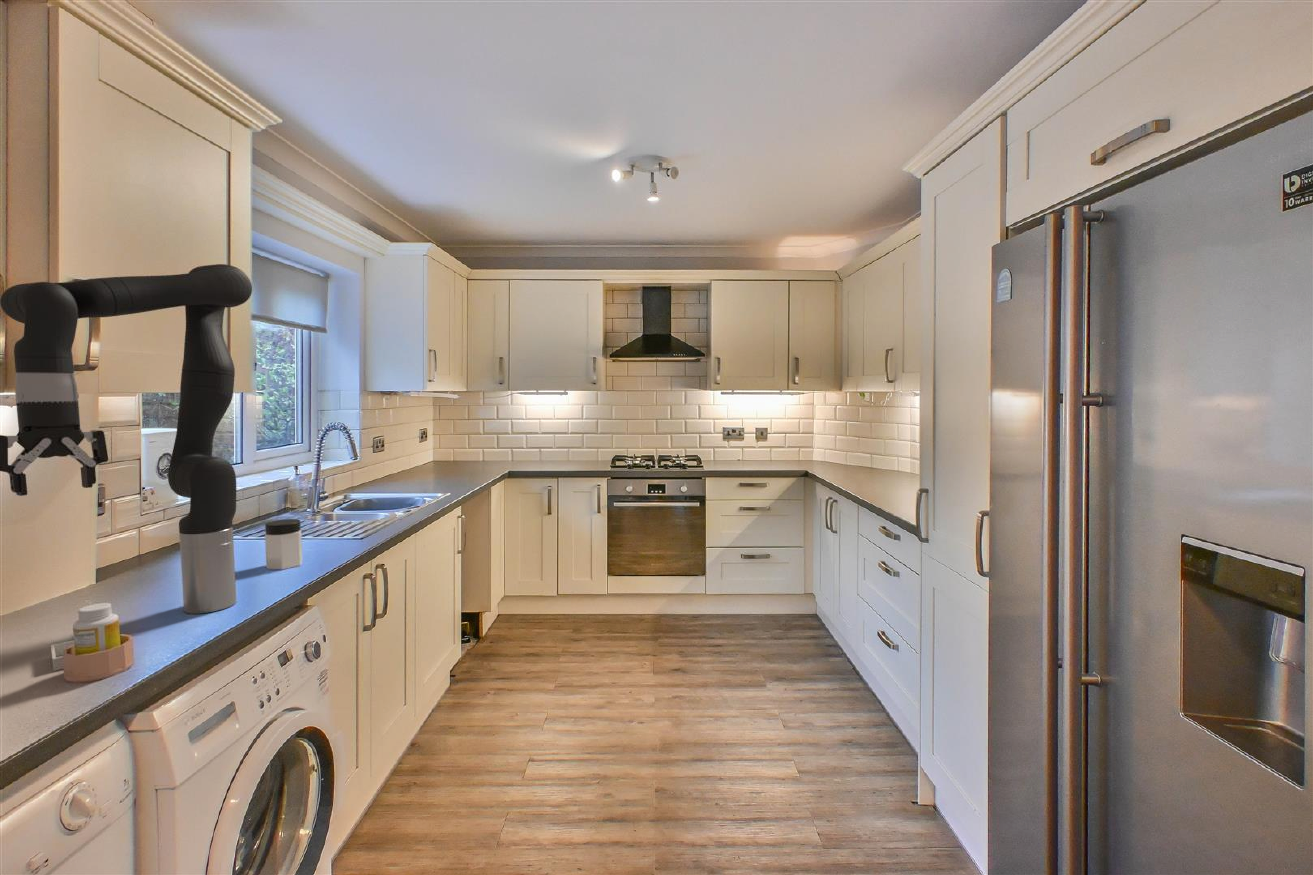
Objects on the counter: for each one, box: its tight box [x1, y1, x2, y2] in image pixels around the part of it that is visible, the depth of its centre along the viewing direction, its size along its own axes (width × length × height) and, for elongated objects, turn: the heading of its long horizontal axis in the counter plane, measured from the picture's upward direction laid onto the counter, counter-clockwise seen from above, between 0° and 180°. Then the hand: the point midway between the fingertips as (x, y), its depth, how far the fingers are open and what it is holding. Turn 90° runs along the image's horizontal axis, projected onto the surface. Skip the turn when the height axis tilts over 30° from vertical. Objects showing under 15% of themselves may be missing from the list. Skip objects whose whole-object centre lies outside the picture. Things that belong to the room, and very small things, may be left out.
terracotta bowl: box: [62, 633, 135, 684], centre depth 98 cm, size 8×8×4 cm
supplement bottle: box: [72, 602, 120, 655], centre depth 98 cm, size 6×6×10 cm
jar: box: [264, 518, 303, 571], centre depth 159 cm, size 9×8×12 cm
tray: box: [50, 639, 74, 672], centre depth 104 cm, size 8×8×2 cm
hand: (55, 491), depth 103 cm, fingers open, 8 cm apart
